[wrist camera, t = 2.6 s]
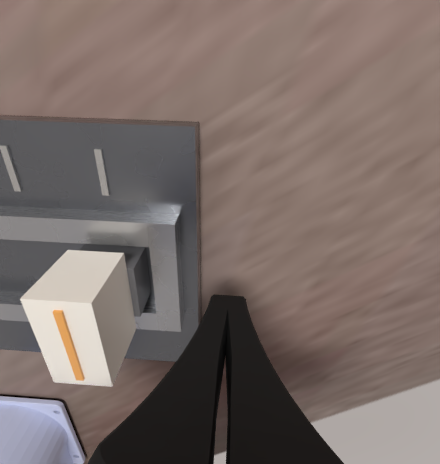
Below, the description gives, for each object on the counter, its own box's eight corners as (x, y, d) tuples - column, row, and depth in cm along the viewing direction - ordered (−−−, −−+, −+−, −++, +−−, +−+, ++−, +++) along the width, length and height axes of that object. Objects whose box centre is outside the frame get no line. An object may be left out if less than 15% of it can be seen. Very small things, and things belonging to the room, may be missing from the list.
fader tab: (152, 302, 16) (118, 389, 11) (98, 299, 16) (45, 384, 12) (144, 232, 14) (99, 306, 9) (81, 229, 14) (8, 300, 9)
